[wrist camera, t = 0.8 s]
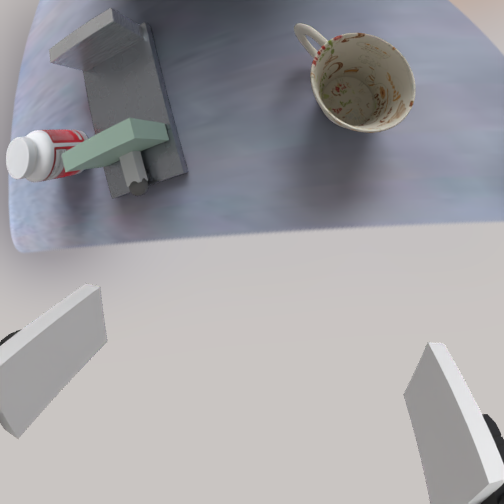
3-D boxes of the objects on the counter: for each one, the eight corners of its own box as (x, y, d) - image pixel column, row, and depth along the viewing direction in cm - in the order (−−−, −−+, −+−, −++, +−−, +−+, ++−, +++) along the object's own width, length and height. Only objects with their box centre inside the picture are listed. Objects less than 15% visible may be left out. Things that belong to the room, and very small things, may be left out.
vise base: (87, 60, 32) (46, 48, 24) (150, 25, 29) (114, 2, 21) (118, 196, 37) (76, 209, 29) (188, 172, 34) (154, 178, 26)
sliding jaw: (101, 151, 33) (61, 154, 26) (164, 123, 31) (129, 117, 24) (116, 204, 35) (78, 217, 28) (181, 182, 33) (149, 190, 26)
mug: (345, 154, 31) (362, 154, 22) (265, 69, 29) (249, 37, 20) (400, 109, 28) (435, 93, 19) (321, 26, 27) (325, -17, 17)
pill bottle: (57, 139, 36) (-1, 143, 25) (88, 122, 34) (27, 120, 24) (66, 180, 37) (8, 193, 27) (97, 166, 36) (37, 175, 25)
